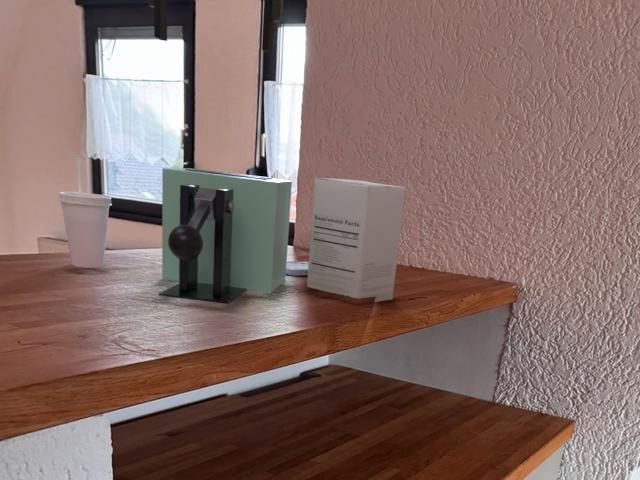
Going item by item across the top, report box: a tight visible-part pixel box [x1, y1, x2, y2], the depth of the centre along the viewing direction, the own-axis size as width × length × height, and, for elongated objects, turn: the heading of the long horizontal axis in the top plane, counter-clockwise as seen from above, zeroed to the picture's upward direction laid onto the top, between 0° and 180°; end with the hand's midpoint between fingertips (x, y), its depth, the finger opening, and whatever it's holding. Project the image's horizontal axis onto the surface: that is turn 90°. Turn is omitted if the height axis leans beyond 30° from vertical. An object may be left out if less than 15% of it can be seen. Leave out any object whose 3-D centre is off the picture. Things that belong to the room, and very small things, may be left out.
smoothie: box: [57, 156, 113, 269], centre depth 93 cm, size 6×6×14 cm
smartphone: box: [286, 260, 309, 276], centre depth 118 cm, size 7×1×15 cm
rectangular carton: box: [306, 177, 406, 303], centre depth 98 cm, size 9×9×15 cm
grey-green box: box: [161, 167, 293, 294], centre depth 95 cm, size 11×14×14 cm
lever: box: [168, 188, 216, 261], centre depth 80 cm, size 12×4×4 cm, turn 175°
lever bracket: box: [158, 184, 248, 305], centre depth 85 cm, size 10×8×13 cm
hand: (213, 45), depth 92 cm, fingers open, 13 cm apart
